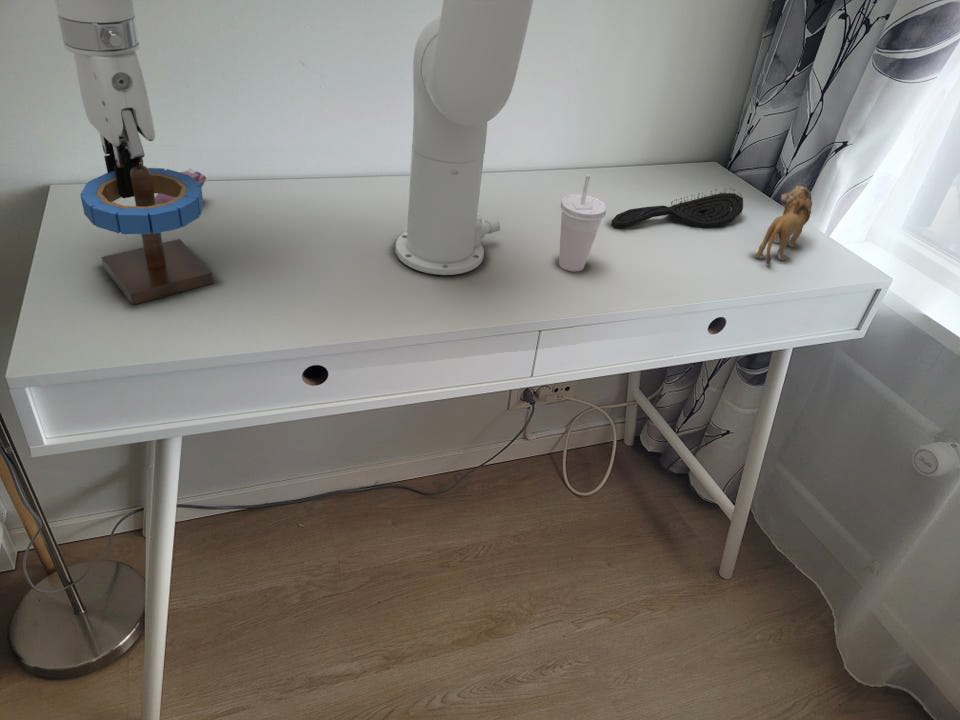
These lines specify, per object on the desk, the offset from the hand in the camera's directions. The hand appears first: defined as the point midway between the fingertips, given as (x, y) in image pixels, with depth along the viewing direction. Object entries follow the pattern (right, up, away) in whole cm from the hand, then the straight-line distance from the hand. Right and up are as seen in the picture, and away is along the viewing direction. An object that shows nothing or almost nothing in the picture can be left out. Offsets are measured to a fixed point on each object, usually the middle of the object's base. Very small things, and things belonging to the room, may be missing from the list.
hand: (129, 189), depth 92 cm
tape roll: (+3, -3, -3) cm, 5 cm away
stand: (+2, -10, +3) cm, 11 cm away
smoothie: (+57, -7, +17) cm, 59 cm away
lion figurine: (+91, -3, +28) cm, 95 cm away
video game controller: (-1, +1, +17) cm, 17 cm away
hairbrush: (+76, +2, +33) cm, 83 cm away
